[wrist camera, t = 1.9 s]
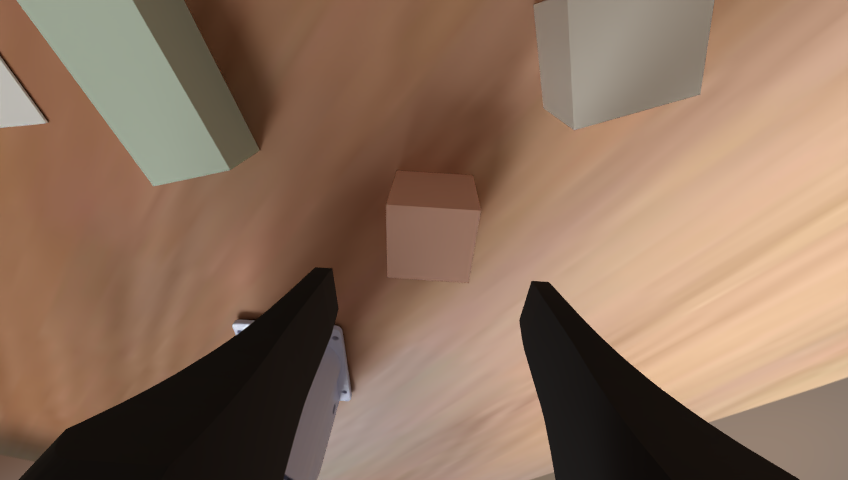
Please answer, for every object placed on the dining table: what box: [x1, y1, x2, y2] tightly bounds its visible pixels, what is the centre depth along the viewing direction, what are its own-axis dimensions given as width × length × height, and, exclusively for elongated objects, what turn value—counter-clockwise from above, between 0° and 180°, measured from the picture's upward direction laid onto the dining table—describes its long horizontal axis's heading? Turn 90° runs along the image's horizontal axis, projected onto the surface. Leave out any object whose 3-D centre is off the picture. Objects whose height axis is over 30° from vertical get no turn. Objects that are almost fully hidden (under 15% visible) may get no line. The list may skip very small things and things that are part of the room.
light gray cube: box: [533, 0, 714, 130], centre depth 11 cm, size 4×4×4 cm
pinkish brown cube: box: [386, 170, 481, 283], centre depth 16 cm, size 4×4×4 cm
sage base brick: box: [17, 0, 260, 186], centre depth 13 cm, size 8×4×3 cm, turn 13°
